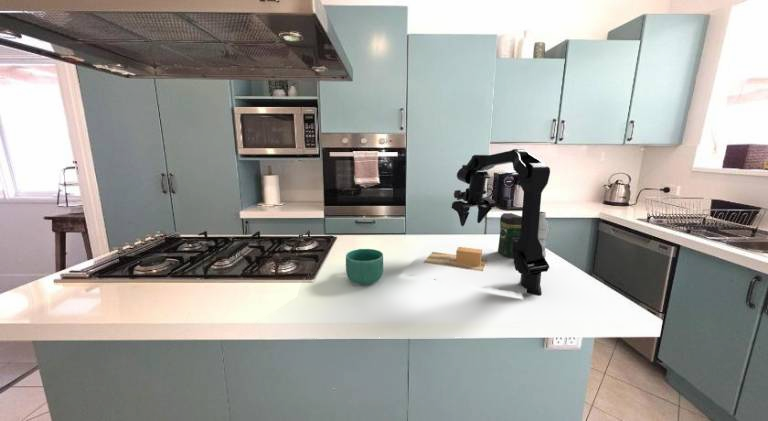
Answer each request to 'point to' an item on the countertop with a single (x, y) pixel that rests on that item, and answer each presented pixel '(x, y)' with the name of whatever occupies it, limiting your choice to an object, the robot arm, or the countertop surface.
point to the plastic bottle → (542, 231)
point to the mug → (364, 266)
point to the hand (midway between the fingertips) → (470, 224)
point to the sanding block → (469, 256)
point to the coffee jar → (509, 233)
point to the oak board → (451, 261)
